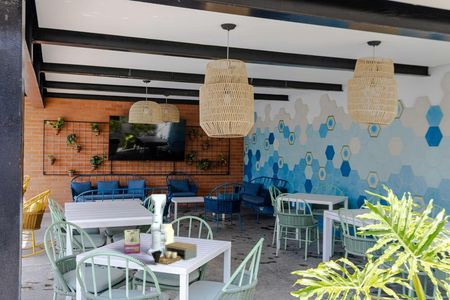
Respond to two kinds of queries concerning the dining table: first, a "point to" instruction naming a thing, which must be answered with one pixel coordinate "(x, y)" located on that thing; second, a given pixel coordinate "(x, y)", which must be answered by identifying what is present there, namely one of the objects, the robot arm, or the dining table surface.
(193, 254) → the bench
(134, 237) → the candy bar box
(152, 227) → the robot arm
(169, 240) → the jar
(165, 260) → the tray
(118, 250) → the dining table surface
